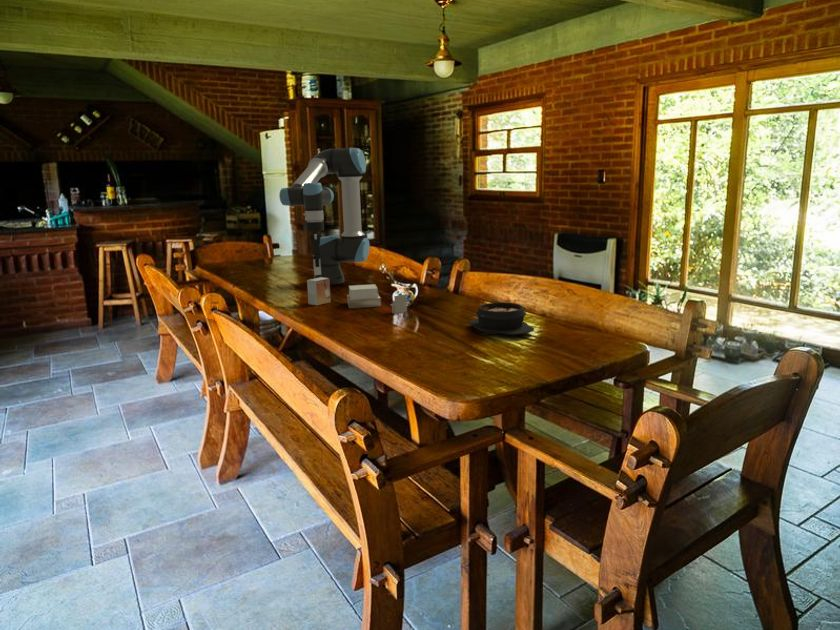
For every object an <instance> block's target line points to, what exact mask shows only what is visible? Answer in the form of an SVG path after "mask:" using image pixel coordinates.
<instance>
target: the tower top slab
mask: <svg viewBox="0 0 840 630" xmlns="http://www.w3.org/2000/svg"><path fill="white" fill-rule="evenodd" d="M378 290H379V288H378V287H377V285H376V283H375V284H356V285H355V284H354V285H348V295H349V296H350V298H351V300H352V299H369V298H378V295H379V292H378Z"/></svg>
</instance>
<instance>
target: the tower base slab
mask: <svg viewBox="0 0 840 630" xmlns="http://www.w3.org/2000/svg"><path fill="white" fill-rule="evenodd" d="M346 303H347V305H348V309H362V308H377V307H382V297H381V296H380V295H379V294H378V298H369V299H352V300H351V298H350V296H349V294H346Z"/></svg>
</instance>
